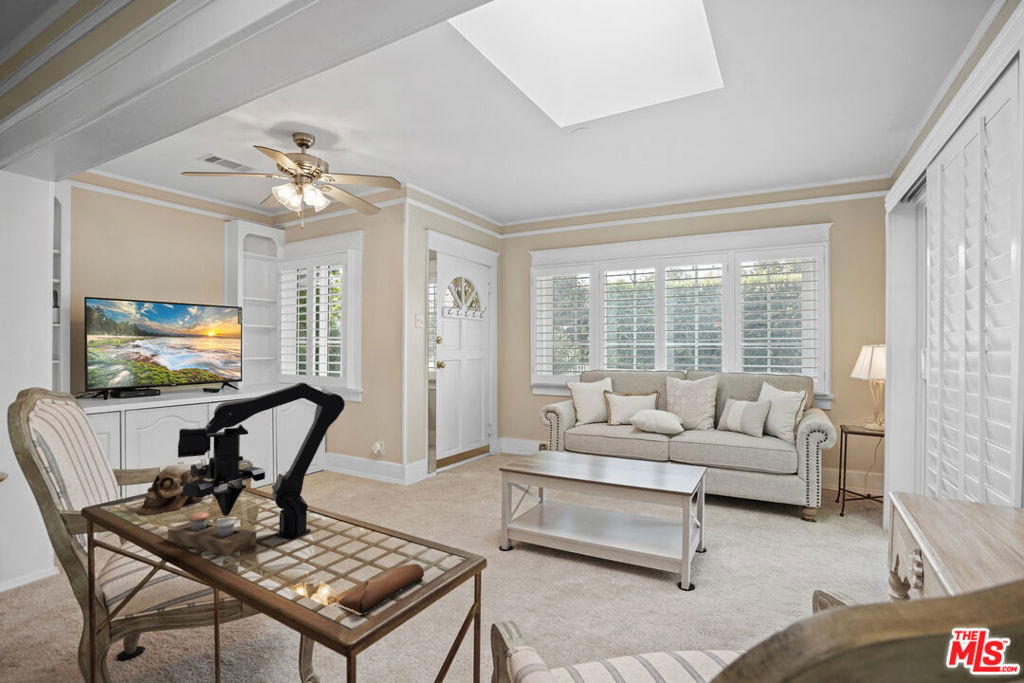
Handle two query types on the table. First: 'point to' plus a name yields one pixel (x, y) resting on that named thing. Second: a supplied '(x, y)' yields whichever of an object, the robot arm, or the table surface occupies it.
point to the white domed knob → (225, 527)
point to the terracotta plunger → (198, 521)
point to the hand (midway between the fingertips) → (225, 515)
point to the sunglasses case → (381, 587)
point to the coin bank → (169, 490)
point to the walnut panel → (212, 539)
